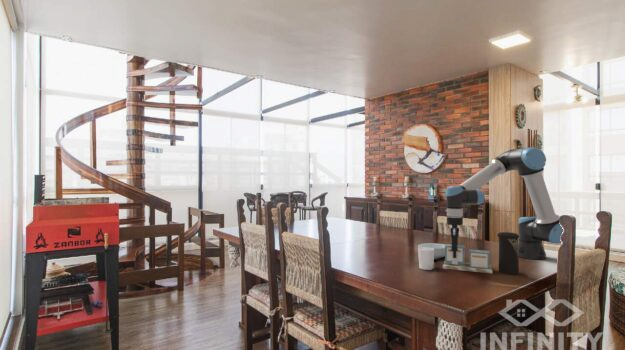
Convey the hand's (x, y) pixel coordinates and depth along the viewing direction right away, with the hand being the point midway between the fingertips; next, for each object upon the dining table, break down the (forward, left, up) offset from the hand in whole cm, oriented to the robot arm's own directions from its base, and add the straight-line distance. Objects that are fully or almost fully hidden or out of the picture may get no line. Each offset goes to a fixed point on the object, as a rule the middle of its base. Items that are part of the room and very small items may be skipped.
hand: (455, 262), depth 176 cm
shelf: (-5, 0, -3) cm, 6 cm away
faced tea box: (-11, 0, -2) cm, 11 cm away
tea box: (0, 0, 0) cm, 0 cm away
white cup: (+14, +4, -3) cm, 14 cm away
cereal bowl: (+13, -22, -4) cm, 26 cm away
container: (-23, 0, -3) cm, 24 cm away
